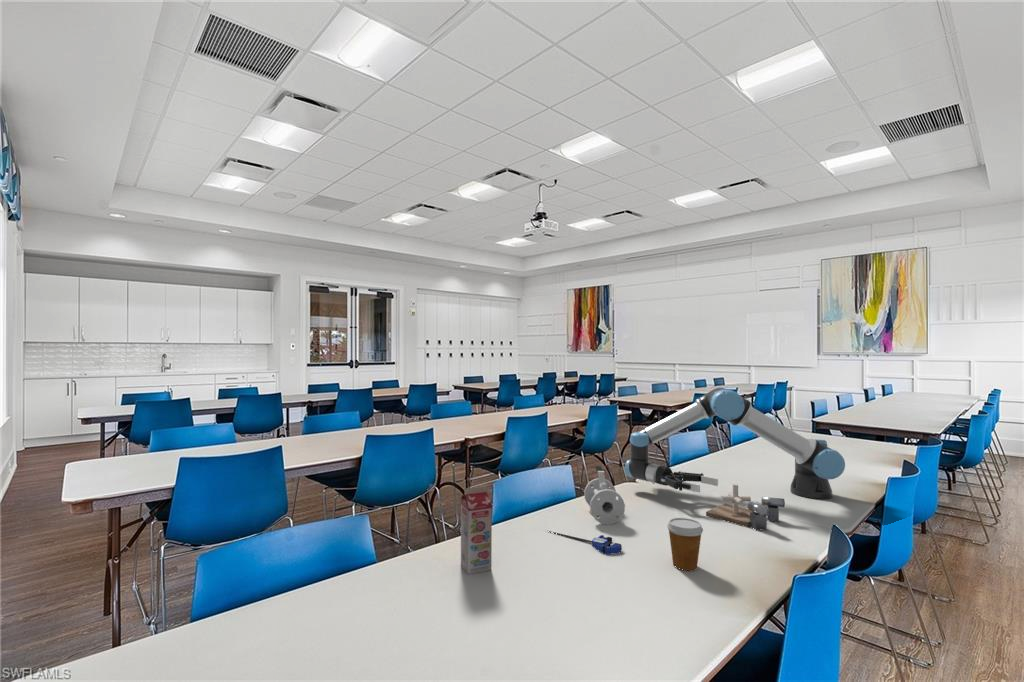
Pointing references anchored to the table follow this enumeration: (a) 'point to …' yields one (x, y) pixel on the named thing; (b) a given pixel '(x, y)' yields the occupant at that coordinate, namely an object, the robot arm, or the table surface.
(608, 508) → the valve
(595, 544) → the bar clamp
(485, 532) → the juice carton
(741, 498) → the pipe connector
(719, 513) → the mounting pad
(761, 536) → the table surface
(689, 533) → the disposable coffee cup
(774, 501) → the grey capsule on block
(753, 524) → the dark grey piece
